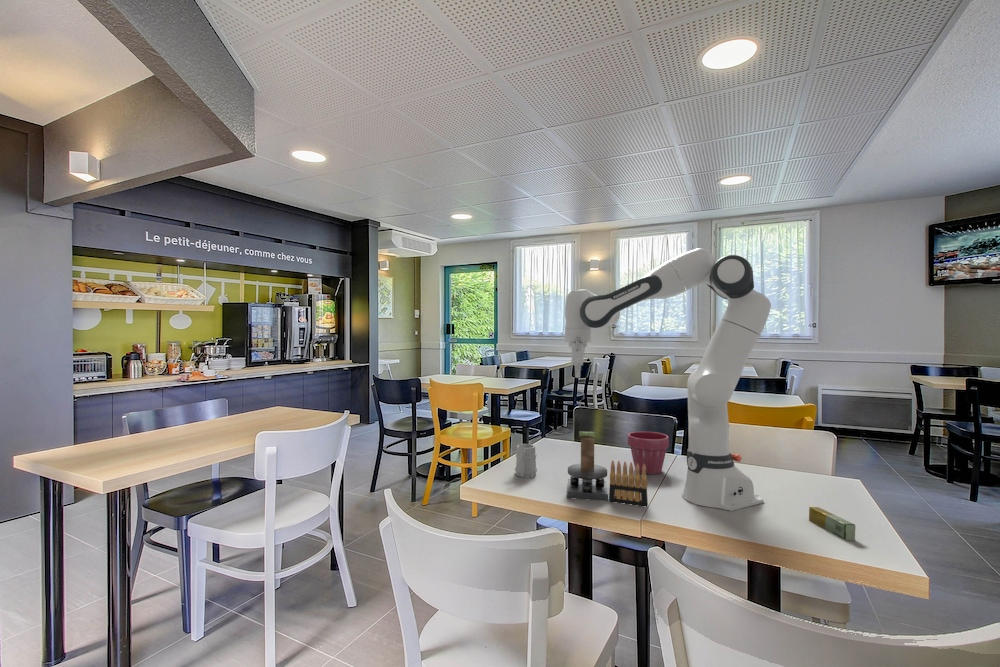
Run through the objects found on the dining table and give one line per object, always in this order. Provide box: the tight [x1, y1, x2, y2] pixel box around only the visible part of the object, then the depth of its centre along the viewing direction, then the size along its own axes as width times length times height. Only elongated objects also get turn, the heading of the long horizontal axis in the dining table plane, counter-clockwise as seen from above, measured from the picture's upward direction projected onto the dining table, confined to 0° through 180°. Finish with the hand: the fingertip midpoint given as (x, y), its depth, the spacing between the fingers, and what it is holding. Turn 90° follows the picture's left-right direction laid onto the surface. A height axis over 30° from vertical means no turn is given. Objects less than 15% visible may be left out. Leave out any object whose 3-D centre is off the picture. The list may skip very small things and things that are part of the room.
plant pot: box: [627, 431, 670, 475], centre depth 164 cm, size 14×14×13 cm
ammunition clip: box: [608, 460, 649, 508], centre depth 131 cm, size 11×2×12 cm, turn 68°
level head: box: [567, 430, 608, 481], centre depth 140 cm, size 12×12×13 cm
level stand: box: [566, 475, 609, 502], centre depth 140 cm, size 12×12×5 cm
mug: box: [514, 443, 538, 478], centre depth 156 cm, size 8×12×12 cm, turn 163°
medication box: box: [808, 506, 857, 542], centre depth 114 cm, size 12×3×4 cm, turn 4°
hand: (577, 377), depth 156 cm, fingers closed
